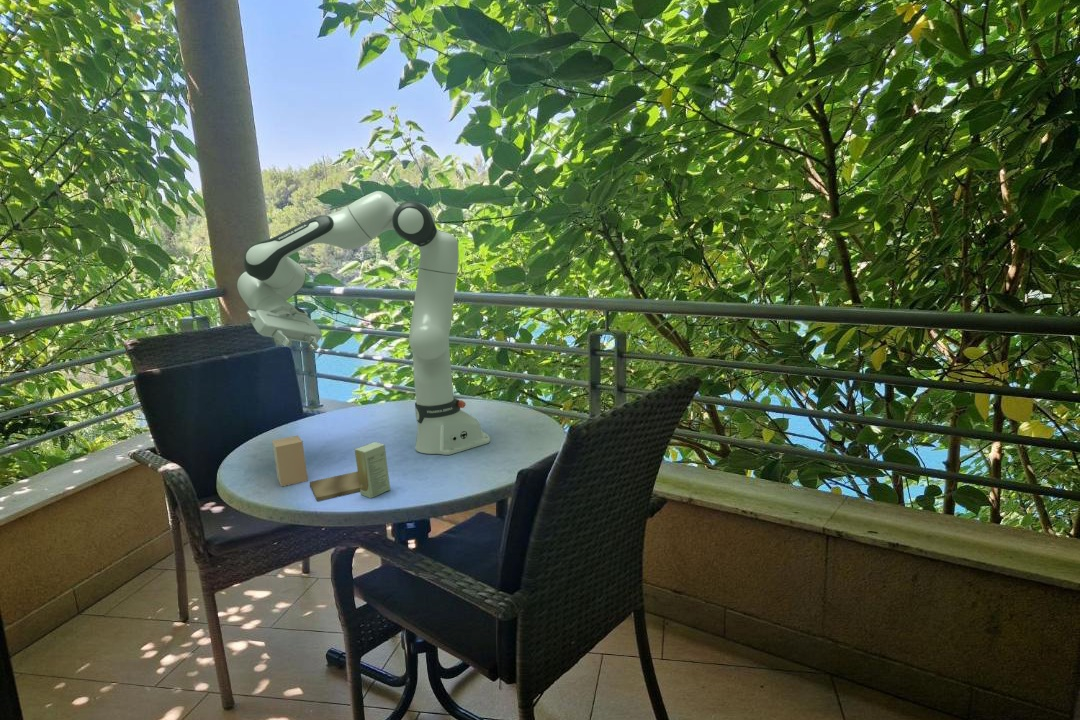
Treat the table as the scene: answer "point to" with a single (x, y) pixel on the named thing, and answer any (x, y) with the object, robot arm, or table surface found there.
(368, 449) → the skincare box
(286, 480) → the tall tan cardboard box
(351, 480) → the board
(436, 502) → the table surface
